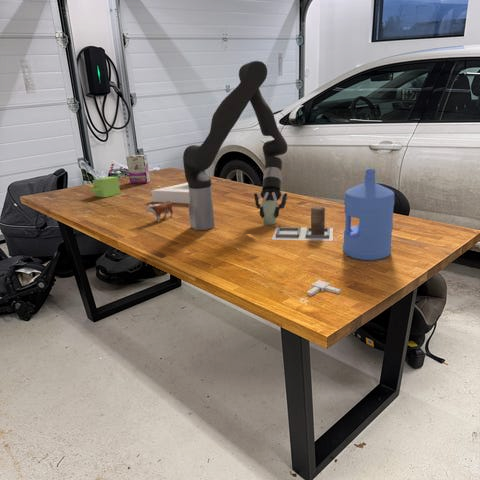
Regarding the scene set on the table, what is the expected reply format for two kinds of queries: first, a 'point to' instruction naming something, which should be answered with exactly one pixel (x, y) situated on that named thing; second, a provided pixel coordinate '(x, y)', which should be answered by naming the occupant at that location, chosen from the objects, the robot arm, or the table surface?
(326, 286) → the corner connector
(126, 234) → the table surface
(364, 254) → the water jug
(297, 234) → the base plate
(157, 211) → the bull figurine
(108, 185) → the gearbox
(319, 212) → the walnut column
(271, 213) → the sage column
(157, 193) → the triangle block
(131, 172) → the candy bar box
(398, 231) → the table surface
